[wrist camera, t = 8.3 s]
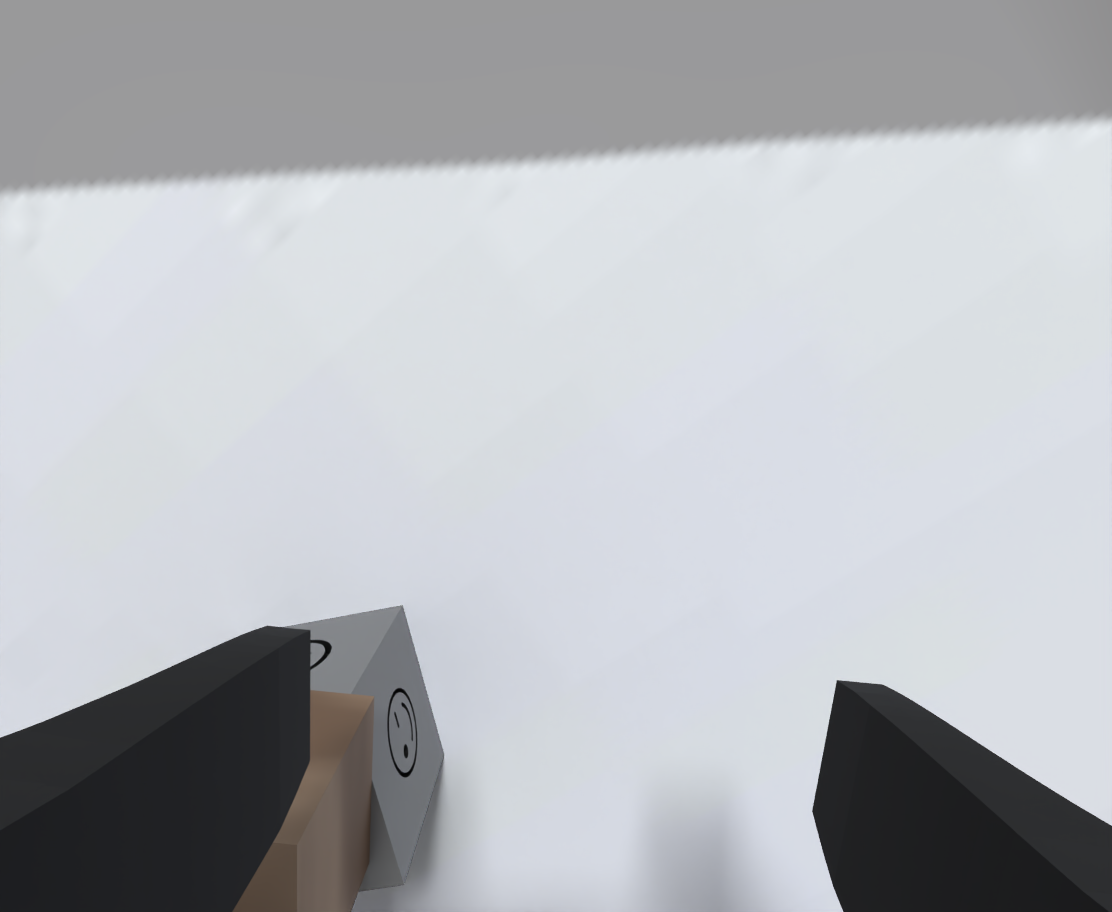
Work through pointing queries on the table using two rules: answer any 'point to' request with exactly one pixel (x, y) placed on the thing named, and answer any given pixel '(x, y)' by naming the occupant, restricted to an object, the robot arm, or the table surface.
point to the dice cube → (384, 727)
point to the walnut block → (323, 817)
